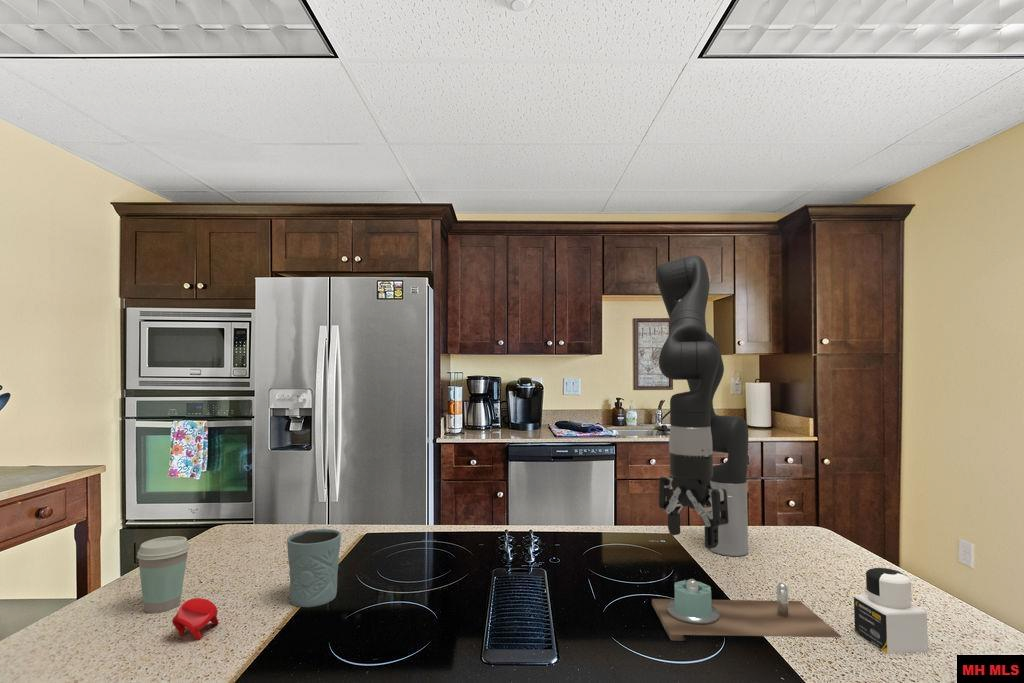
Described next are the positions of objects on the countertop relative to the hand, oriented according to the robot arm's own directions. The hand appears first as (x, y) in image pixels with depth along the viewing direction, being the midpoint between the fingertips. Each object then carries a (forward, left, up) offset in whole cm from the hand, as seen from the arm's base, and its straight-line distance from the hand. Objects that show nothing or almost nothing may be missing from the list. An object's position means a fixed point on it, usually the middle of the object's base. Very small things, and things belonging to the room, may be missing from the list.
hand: (692, 540), depth 99 cm
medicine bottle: (+9, +29, -14) cm, 33 cm away
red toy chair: (+8, -86, -14) cm, 88 cm away
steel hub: (0, 0, -14) cm, 14 cm away
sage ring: (0, 0, -12) cm, 12 cm away
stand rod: (0, +16, -14) cm, 21 cm away
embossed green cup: (-7, -72, -14) cm, 74 cm away
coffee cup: (-2, -99, -14) cm, 100 cm away
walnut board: (+1, +8, -14) cm, 16 cm away
